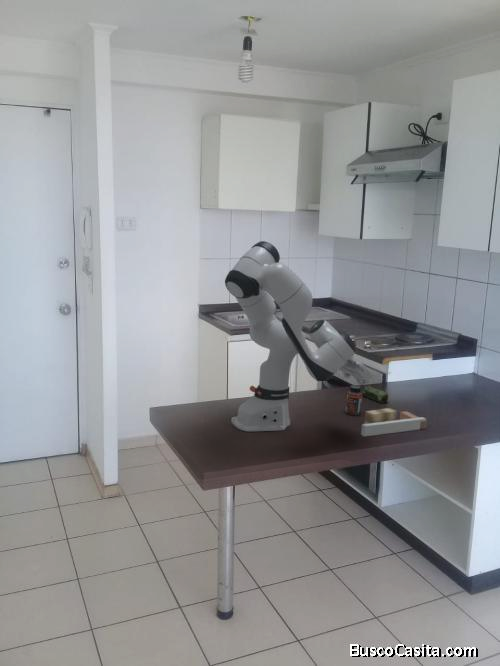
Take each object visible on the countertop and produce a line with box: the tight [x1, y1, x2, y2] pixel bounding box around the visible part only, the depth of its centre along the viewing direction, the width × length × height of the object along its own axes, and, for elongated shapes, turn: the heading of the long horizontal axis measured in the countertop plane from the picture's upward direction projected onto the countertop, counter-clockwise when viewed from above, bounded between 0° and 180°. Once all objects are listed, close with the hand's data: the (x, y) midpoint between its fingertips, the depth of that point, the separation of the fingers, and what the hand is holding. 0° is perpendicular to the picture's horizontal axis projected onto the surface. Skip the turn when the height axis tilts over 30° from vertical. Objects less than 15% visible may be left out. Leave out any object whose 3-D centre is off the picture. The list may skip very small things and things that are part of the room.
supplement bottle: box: [345, 385, 363, 416], centre depth 245 cm, size 6×6×11 cm
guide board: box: [360, 411, 428, 438], centre depth 231 cm, size 28×12×4 cm, turn 115°
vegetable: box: [361, 385, 389, 404], centre depth 266 cm, size 14×5×5 cm, turn 34°
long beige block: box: [364, 407, 398, 424], centre depth 229 cm, size 12×4×7 cm, turn 119°
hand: (361, 380), depth 221 cm, fingers closed
